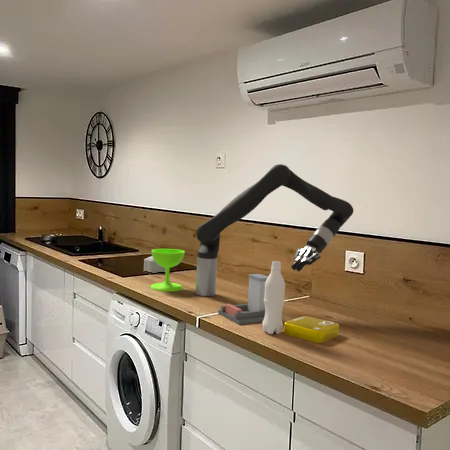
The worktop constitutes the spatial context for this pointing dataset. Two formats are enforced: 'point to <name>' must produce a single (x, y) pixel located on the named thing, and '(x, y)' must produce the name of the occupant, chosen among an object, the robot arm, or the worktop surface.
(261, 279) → the grey tall block
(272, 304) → the water bottle
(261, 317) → the track
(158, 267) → the lumpy-topped squat cylinder
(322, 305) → the worktop surface
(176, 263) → the wineglass
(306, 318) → the element tile
